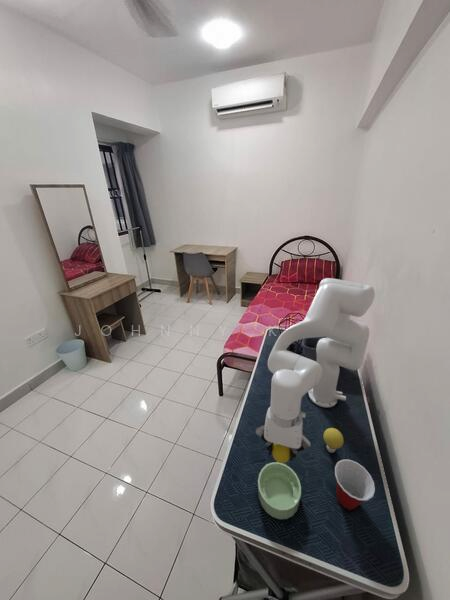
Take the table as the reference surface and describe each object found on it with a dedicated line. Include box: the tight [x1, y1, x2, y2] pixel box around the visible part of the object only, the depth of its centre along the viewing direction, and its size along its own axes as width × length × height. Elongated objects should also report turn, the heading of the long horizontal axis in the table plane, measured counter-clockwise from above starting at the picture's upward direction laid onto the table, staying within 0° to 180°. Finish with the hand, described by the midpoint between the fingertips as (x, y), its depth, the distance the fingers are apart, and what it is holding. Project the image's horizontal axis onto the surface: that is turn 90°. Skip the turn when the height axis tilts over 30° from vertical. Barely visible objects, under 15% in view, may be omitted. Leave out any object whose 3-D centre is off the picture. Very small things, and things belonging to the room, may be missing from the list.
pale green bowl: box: [257, 461, 302, 520], centre depth 76 cm, size 13×13×6 cm
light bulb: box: [322, 427, 345, 454], centre depth 87 cm, size 7×7×10 cm
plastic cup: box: [334, 459, 376, 510], centre depth 73 cm, size 11×11×12 cm
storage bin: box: [301, 336, 327, 362], centre depth 128 cm, size 21×16×14 cm
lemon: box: [271, 443, 291, 464], centre depth 70 cm, size 6×6×8 cm
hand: (281, 453), depth 71 cm, fingers closed on lemon, 5 cm apart
